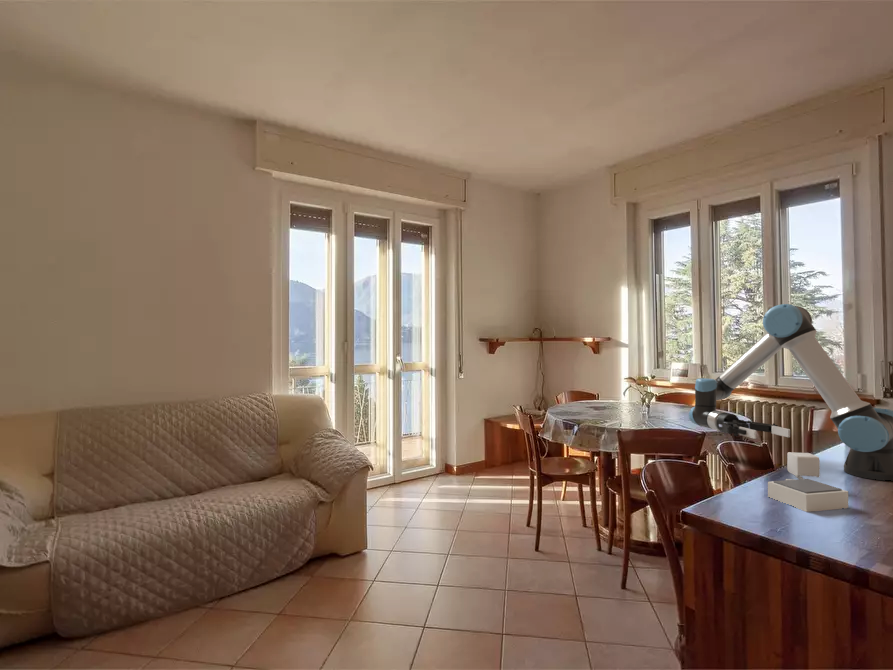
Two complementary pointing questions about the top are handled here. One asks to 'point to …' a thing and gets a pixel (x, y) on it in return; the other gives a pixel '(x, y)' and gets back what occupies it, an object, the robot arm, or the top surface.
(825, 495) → the cream gray-topped block
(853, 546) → the top surface
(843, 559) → the top surface
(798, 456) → the security camera
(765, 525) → the top surface
